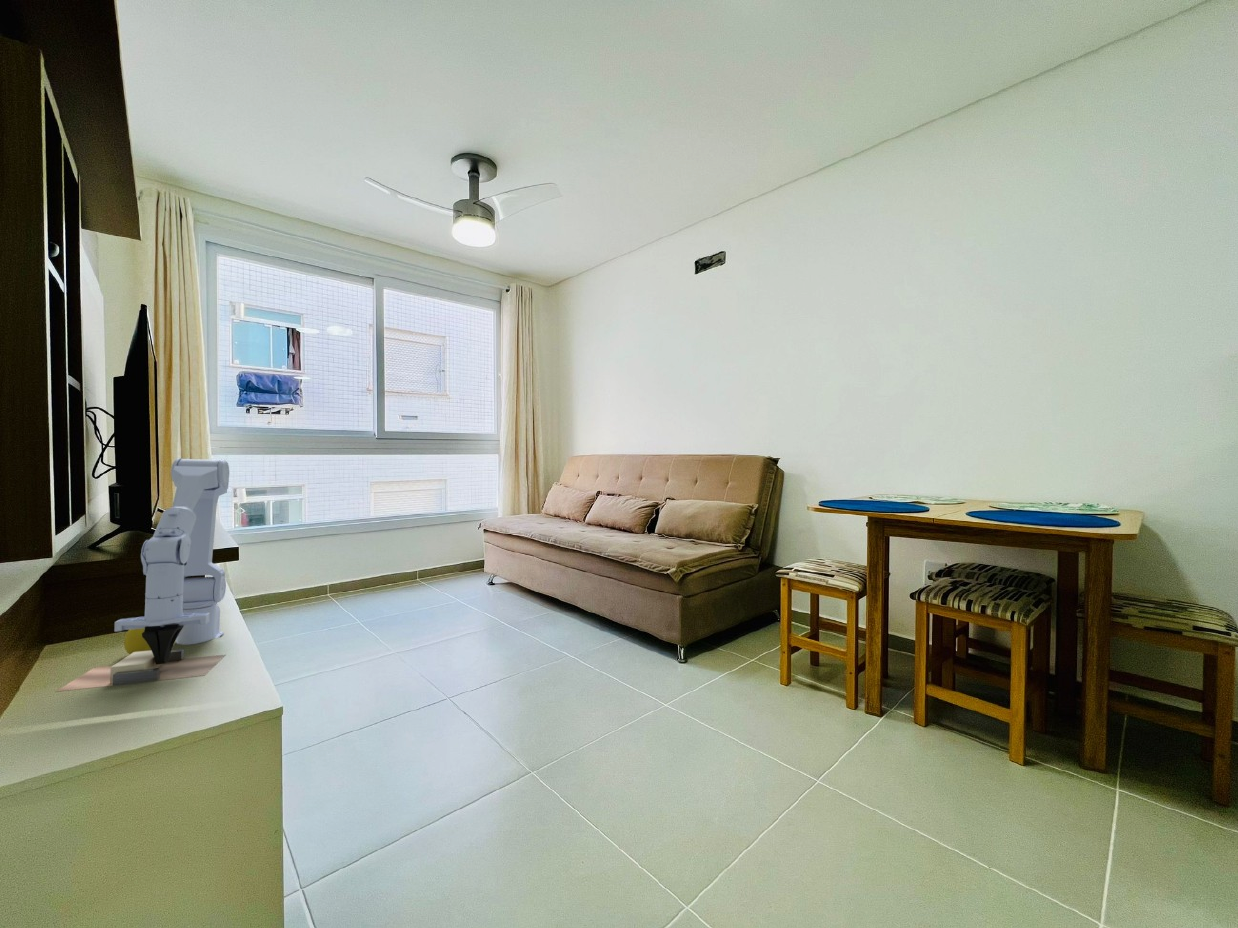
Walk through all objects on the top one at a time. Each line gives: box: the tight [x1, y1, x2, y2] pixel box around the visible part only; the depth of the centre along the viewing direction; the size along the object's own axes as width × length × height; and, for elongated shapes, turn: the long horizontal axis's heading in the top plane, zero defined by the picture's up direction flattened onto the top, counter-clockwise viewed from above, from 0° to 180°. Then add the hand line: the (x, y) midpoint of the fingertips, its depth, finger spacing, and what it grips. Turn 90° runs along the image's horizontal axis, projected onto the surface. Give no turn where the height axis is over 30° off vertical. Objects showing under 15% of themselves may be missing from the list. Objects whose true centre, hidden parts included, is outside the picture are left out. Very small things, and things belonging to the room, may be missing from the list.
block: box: [110, 650, 163, 683], centre depth 99 cm, size 8×5×3 cm, turn 22°
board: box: [55, 654, 226, 693], centre depth 100 cm, size 12×22×1 cm, turn 112°
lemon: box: [123, 628, 151, 655], centre depth 109 cm, size 6×6×8 cm
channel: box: [113, 649, 185, 686], centre depth 100 cm, size 12×6×2 cm, turn 22°
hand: (162, 662), depth 101 cm, fingers closed
